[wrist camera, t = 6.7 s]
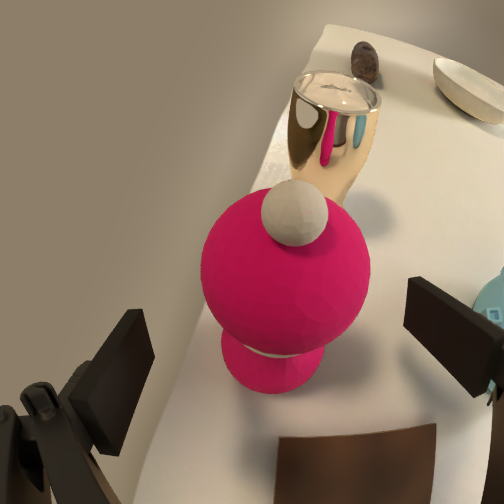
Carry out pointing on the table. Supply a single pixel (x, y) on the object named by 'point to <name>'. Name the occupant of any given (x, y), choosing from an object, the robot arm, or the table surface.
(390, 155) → the table surface
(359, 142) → the beer glass
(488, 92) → the serving bowl
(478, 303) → the teapot
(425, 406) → the table surface
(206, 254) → the pepper mill
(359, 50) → the perforated stone tool
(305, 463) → the walnut board
